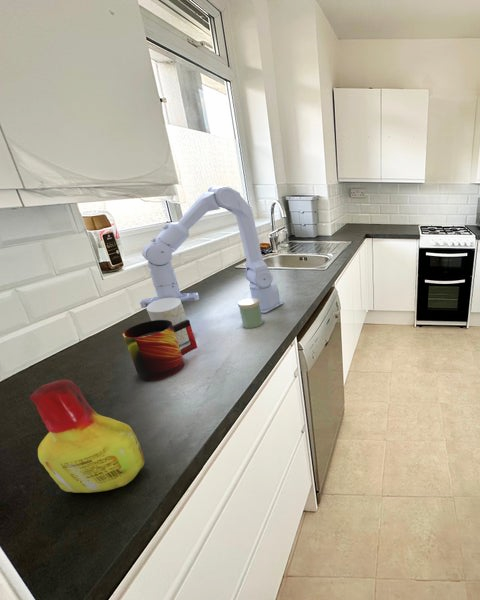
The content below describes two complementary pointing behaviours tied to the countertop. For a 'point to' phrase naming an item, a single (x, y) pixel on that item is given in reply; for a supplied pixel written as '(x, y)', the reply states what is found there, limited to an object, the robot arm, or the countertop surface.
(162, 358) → the mug
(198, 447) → the countertop surface
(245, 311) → the tea tin
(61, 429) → the bottle
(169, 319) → the white cylinder
